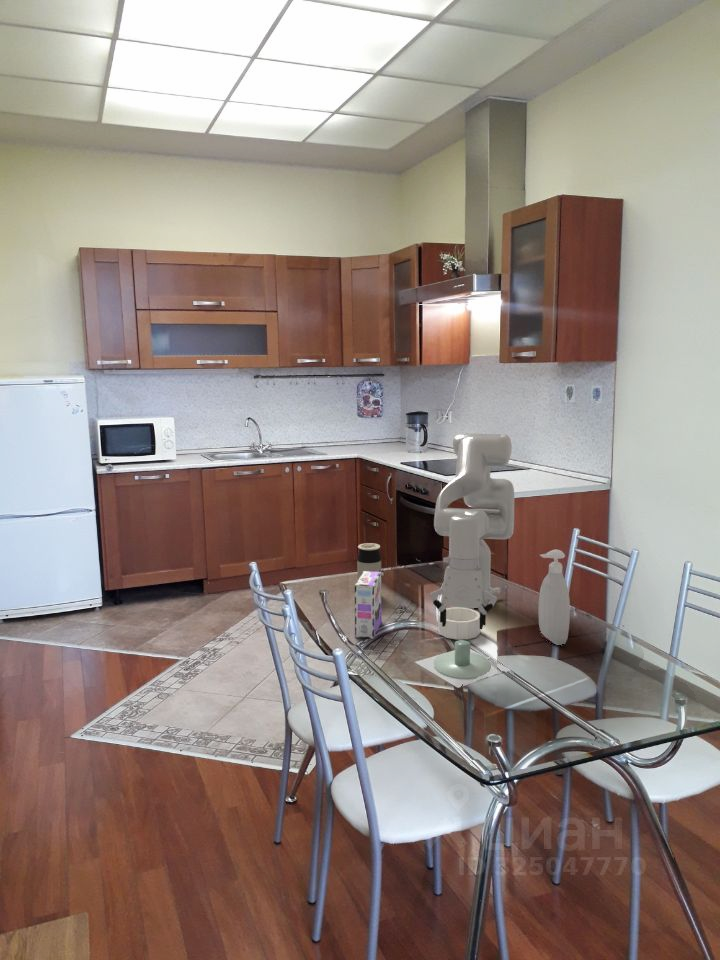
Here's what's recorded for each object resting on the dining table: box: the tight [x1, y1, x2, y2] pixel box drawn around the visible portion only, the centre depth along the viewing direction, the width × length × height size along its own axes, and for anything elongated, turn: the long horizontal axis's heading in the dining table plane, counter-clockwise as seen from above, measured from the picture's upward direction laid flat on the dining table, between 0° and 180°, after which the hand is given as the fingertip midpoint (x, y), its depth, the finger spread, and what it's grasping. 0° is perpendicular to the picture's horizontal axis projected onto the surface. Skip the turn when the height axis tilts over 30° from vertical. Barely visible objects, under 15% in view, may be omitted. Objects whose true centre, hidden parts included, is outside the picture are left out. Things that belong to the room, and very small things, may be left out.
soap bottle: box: [537, 548, 571, 646], centre depth 210 cm, size 14×8×27 cm, turn 14°
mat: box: [414, 648, 512, 689], centre depth 195 cm, size 18×18×1 cm
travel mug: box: [356, 542, 382, 580], centre depth 249 cm, size 8×8×18 cm
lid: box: [434, 639, 491, 679], centre depth 194 cm, size 15×15×6 cm
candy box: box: [354, 571, 383, 639], centre depth 220 cm, size 14×6×16 cm, turn 168°
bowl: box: [437, 607, 481, 641], centre depth 217 cm, size 12×12×6 cm
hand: (462, 626), depth 193 cm, fingers open, 9 cm apart
